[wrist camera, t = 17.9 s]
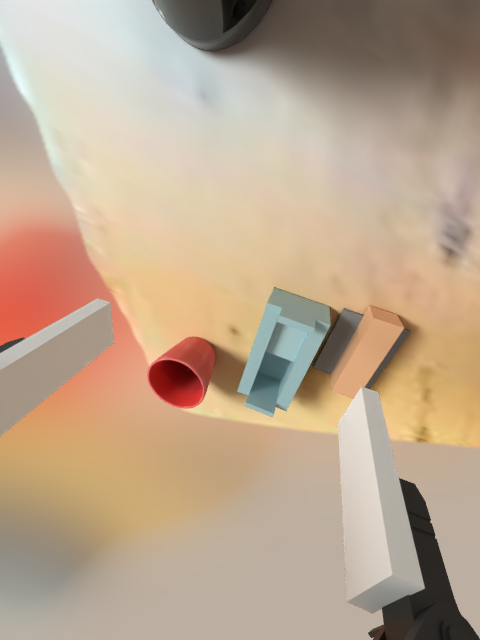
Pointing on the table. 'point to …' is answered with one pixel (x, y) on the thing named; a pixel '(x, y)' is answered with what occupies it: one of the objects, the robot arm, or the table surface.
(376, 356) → the bar
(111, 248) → the table surface
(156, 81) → the table surface
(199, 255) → the table surface
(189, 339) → the flower pot
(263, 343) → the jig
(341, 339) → the mat
